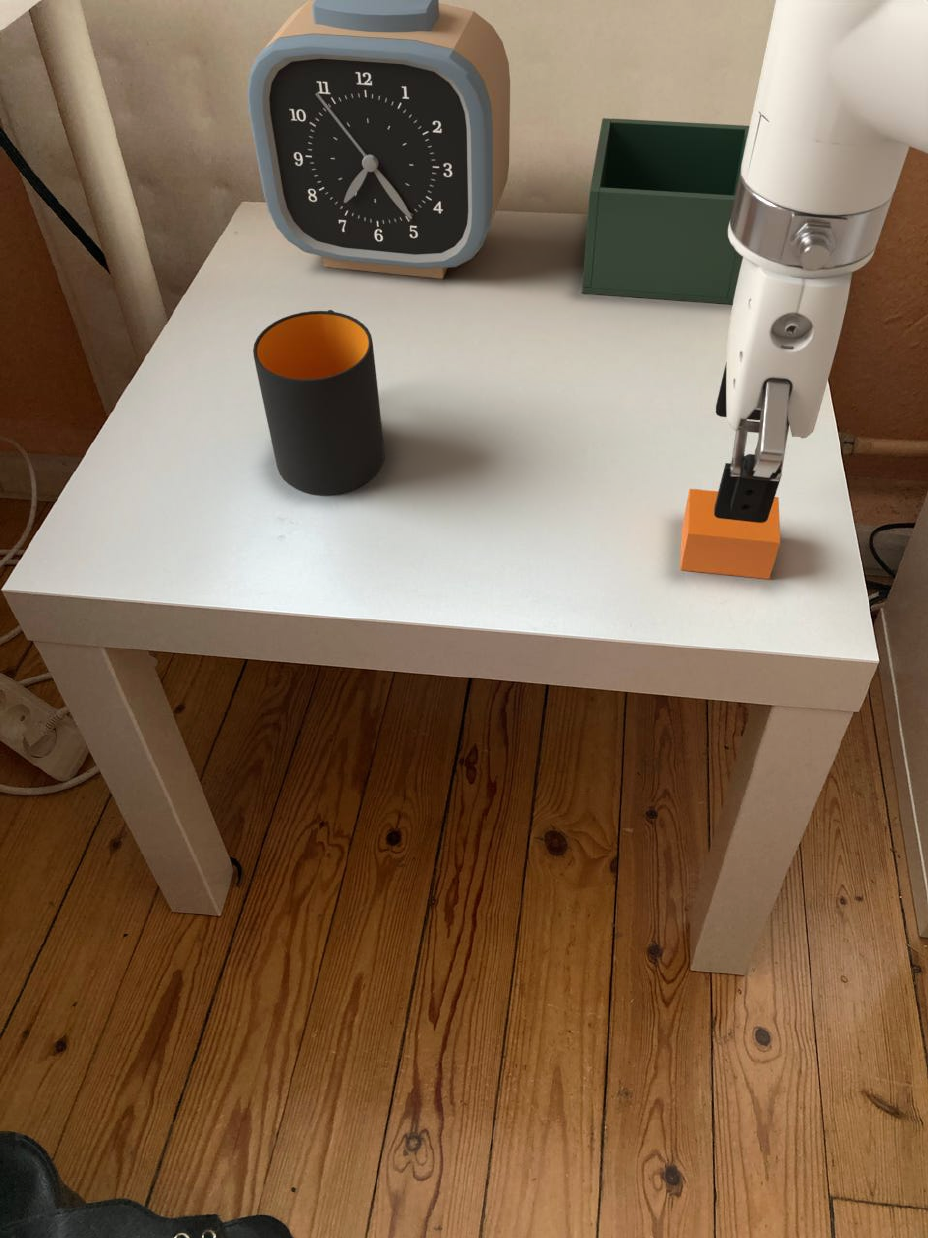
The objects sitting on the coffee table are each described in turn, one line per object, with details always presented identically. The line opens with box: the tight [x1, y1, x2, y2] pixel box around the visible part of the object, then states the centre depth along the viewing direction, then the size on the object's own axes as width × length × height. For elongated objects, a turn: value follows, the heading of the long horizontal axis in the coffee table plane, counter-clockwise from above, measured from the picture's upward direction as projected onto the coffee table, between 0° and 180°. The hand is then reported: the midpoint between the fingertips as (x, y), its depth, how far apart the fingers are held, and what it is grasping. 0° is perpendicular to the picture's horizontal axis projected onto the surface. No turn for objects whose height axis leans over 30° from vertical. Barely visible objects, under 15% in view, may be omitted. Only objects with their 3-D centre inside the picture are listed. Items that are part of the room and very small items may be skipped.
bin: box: [581, 117, 750, 305], centre depth 92 cm, size 14×14×10 cm
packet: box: [679, 488, 781, 580], centre depth 70 cm, size 4×6×4 cm
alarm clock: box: [246, 0, 511, 280], centre depth 89 cm, size 21×10×22 cm, turn 78°
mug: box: [252, 309, 385, 496], centre depth 76 cm, size 8×12×10 cm
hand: (739, 464), depth 66 cm, fingers open, 9 cm apart
